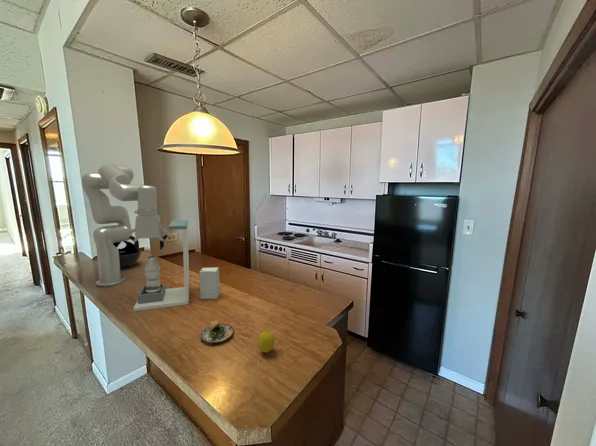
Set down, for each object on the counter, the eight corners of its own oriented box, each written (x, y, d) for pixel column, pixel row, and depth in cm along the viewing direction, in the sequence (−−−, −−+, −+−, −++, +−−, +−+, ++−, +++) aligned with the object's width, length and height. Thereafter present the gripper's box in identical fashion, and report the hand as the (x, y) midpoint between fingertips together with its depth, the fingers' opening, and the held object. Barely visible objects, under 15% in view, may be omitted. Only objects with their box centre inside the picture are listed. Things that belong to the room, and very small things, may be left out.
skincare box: (220, 294, 129) (220, 267, 127) (216, 299, 123) (216, 271, 121) (203, 294, 129) (203, 266, 126) (199, 299, 123) (199, 270, 120)
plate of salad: (210, 351, 86) (210, 331, 85) (194, 336, 94) (194, 317, 93) (239, 336, 94) (239, 318, 93) (223, 324, 102) (223, 307, 101)
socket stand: (141, 294, 126) (137, 220, 120) (189, 289, 134) (187, 220, 128) (133, 311, 109) (128, 227, 104) (188, 304, 117) (186, 225, 112)
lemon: (258, 347, 88) (259, 326, 87) (274, 347, 89) (274, 326, 88) (257, 357, 83) (257, 335, 82) (274, 357, 83) (274, 335, 82)
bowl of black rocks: (109, 263, 169) (107, 236, 166) (143, 260, 178) (142, 235, 175) (100, 273, 151) (98, 243, 148) (139, 269, 160) (137, 241, 157)
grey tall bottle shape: (154, 301, 116) (152, 259, 113) (142, 299, 117) (139, 258, 114) (164, 295, 122) (162, 256, 119) (153, 293, 123) (150, 254, 120)
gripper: (123, 214, 107) (125, 252, 109) (168, 213, 113) (169, 250, 116) (127, 212, 114) (129, 248, 116) (169, 212, 120) (171, 246, 123)
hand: (149, 249), depth 116 cm, fingers open, 9 cm apart
